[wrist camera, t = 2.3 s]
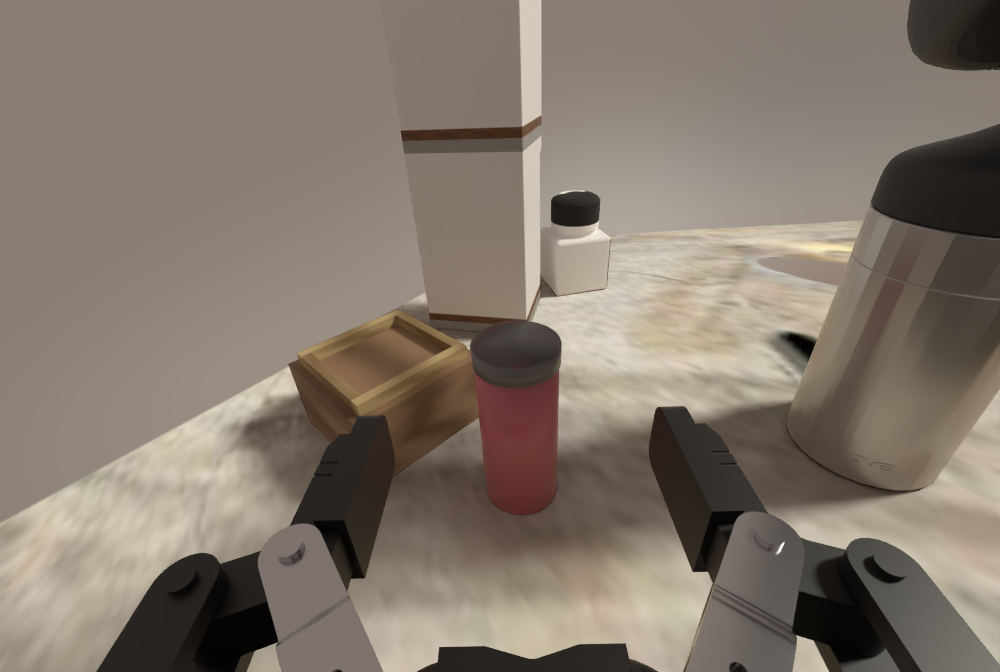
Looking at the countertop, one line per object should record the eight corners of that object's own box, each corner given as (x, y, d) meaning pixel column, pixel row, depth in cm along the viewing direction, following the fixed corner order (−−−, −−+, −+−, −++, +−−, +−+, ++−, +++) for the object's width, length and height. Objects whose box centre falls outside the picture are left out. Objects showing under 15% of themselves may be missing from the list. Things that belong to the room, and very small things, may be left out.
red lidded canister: (519, 446, 34) (513, 312, 28) (572, 482, 31) (580, 340, 25) (470, 486, 31) (451, 345, 25) (523, 531, 28) (517, 382, 22)
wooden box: (412, 365, 44) (400, 304, 41) (485, 412, 38) (478, 345, 34) (309, 419, 38) (284, 353, 34) (374, 489, 31) (352, 416, 28)
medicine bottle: (607, 289, 57) (615, 197, 51) (556, 297, 56) (558, 203, 50) (586, 269, 63) (591, 184, 57) (539, 276, 62) (539, 190, 56)
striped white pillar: (541, 294, 57) (541, -58, 39) (526, 335, 48) (517, -93, 30) (459, 289, 60) (423, -43, 41) (431, 327, 51) (369, -71, 33)
